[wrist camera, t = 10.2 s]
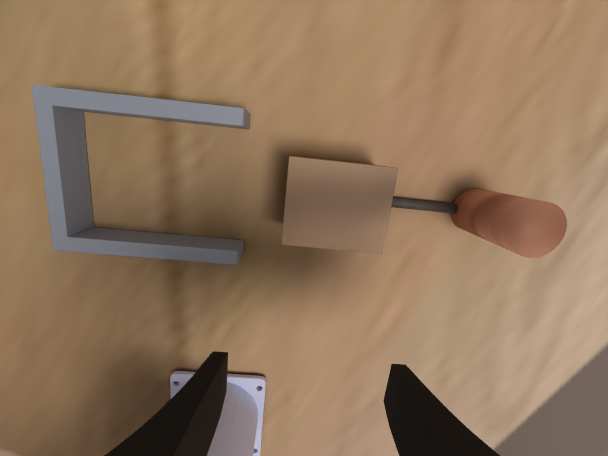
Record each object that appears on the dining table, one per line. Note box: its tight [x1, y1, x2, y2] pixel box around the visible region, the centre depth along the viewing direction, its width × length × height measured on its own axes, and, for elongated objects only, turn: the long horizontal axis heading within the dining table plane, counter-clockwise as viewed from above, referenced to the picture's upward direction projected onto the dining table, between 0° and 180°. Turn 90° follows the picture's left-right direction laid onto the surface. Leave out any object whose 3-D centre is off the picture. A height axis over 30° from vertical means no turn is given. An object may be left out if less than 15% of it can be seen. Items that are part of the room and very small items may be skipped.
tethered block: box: [281, 156, 567, 258], centre depth 18 cm, size 5×16×6 cm, turn 84°
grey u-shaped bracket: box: [32, 85, 250, 265], centre depth 19 cm, size 10×12×2 cm
